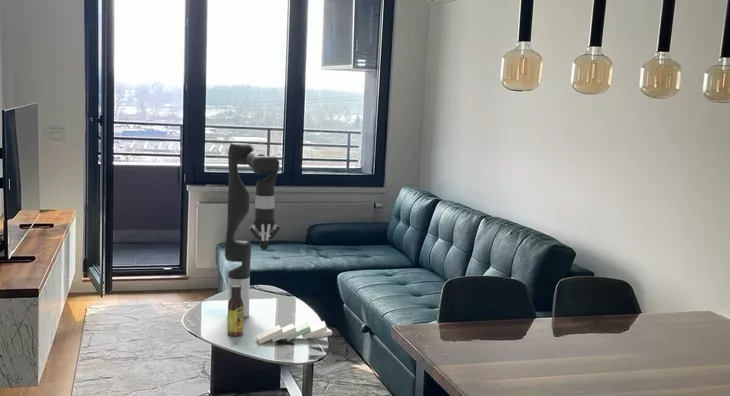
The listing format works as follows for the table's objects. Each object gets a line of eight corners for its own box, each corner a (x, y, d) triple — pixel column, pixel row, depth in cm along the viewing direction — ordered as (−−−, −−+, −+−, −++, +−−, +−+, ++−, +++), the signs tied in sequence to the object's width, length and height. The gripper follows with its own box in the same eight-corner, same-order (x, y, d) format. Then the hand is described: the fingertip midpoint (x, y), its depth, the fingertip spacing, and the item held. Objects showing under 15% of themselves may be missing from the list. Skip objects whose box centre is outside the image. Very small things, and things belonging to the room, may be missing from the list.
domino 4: (301, 329, 279) (324, 320, 279) (302, 333, 279) (326, 324, 280) (302, 335, 274) (325, 326, 274) (303, 340, 275) (327, 330, 275)
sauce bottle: (239, 337, 275) (240, 288, 272) (224, 335, 276) (225, 287, 274) (245, 332, 281) (246, 284, 279) (231, 330, 283) (231, 283, 280)
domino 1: (255, 335, 272) (278, 324, 275) (257, 340, 273) (280, 329, 276) (258, 339, 268) (281, 328, 271) (259, 344, 268) (283, 333, 271)
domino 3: (284, 332, 277) (307, 321, 279) (286, 336, 278) (309, 326, 279) (285, 336, 273) (309, 326, 274) (287, 341, 273) (311, 330, 274)
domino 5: (304, 330, 281) (326, 327, 286) (304, 335, 282) (326, 332, 287) (310, 334, 277) (332, 331, 282) (310, 339, 277) (332, 335, 282)
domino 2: (269, 333, 275) (292, 323, 278) (271, 337, 276) (294, 327, 278) (271, 337, 271) (295, 327, 273) (273, 342, 271) (296, 331, 273)
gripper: (251, 208, 266) (250, 252, 269) (283, 207, 272) (282, 250, 274) (245, 205, 273) (245, 248, 275) (277, 204, 279) (276, 247, 281)
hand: (263, 249), depth 275 cm, fingers closed
